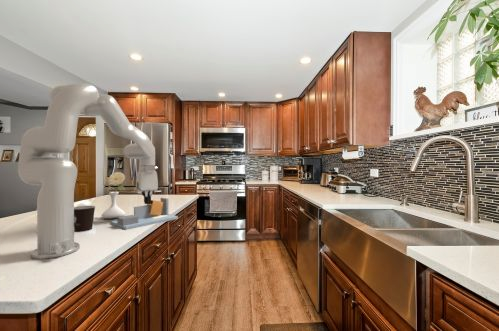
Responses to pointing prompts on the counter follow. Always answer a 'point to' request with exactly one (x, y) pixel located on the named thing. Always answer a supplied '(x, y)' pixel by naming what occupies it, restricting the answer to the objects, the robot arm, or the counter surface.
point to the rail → (144, 217)
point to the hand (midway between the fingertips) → (147, 203)
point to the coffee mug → (83, 218)
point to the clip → (155, 207)
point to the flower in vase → (114, 209)
